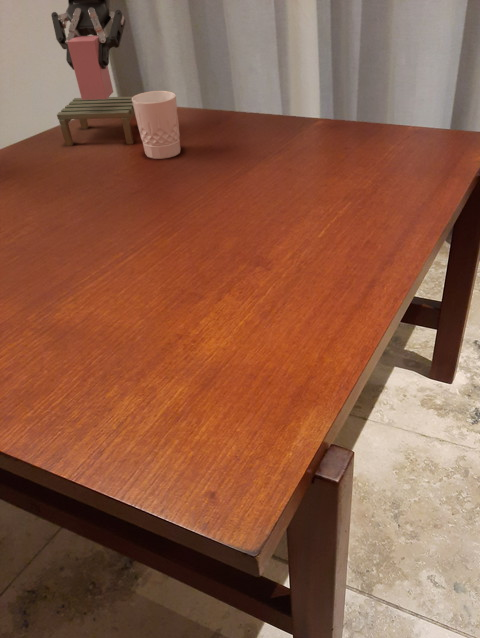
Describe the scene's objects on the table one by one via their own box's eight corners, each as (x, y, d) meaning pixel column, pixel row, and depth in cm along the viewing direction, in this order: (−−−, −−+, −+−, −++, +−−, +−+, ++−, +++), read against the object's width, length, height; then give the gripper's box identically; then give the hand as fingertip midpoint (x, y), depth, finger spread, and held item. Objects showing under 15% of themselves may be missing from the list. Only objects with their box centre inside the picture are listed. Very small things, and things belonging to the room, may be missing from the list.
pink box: (81, 100, 108) (66, 41, 102) (89, 92, 112) (75, 36, 106) (106, 99, 108) (93, 40, 102) (113, 92, 112) (101, 35, 105)
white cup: (170, 143, 110) (161, 88, 104) (191, 152, 106) (183, 96, 99) (135, 153, 107) (123, 97, 100) (155, 163, 102) (145, 105, 95)
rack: (65, 146, 111) (56, 114, 107) (82, 127, 120) (74, 97, 116) (133, 144, 110) (127, 112, 107) (146, 125, 119) (140, 95, 115)
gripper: (43, -33, 103) (41, 55, 102) (119, -36, 102) (118, 53, 101) (61, -3, 110) (59, 79, 109) (132, -6, 110) (131, 77, 108)
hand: (87, 66), depth 105 cm, fingers closed on pink box, 5 cm apart
